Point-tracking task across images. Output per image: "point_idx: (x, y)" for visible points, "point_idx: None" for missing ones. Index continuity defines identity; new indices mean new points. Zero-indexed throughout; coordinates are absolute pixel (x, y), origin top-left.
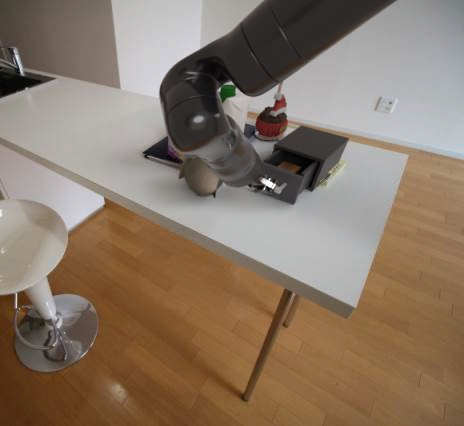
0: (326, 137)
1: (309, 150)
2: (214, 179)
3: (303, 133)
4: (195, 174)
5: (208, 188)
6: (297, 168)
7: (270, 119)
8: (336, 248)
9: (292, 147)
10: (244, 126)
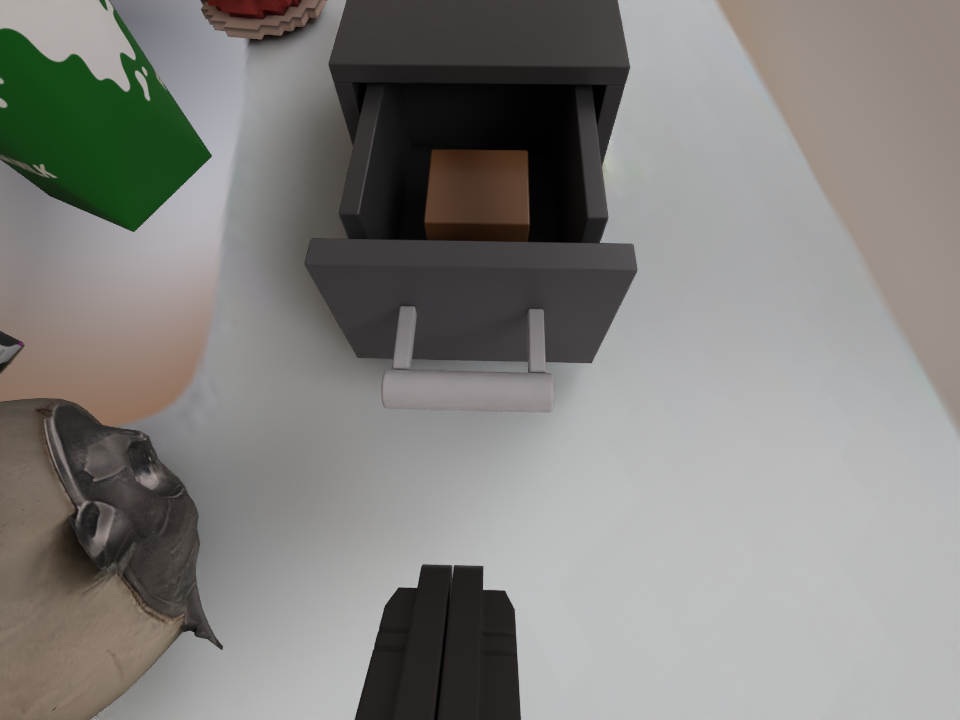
0: None
1: (517, 32)
2: (88, 650)
3: None
4: None
5: (111, 696)
6: (520, 169)
7: None
8: (881, 511)
9: (430, 48)
10: (99, 2)
